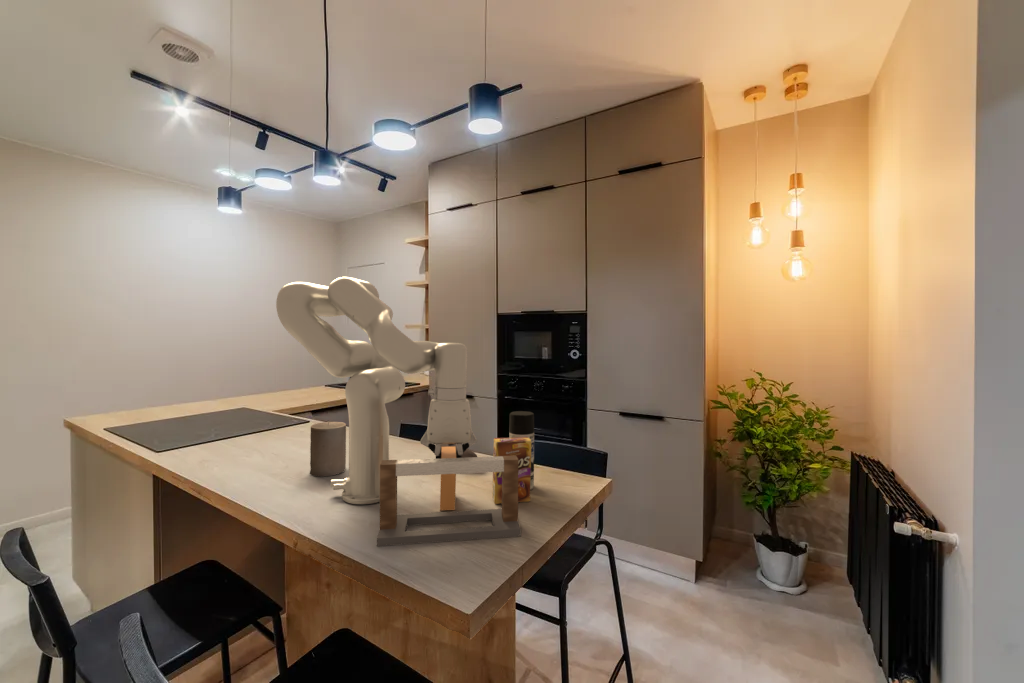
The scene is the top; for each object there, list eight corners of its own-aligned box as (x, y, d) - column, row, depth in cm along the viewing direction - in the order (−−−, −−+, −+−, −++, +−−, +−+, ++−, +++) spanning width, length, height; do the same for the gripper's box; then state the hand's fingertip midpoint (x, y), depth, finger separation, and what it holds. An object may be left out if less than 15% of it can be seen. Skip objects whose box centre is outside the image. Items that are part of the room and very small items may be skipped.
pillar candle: (302, 474, 117) (302, 422, 116) (328, 464, 126) (328, 416, 126) (328, 478, 113) (328, 425, 113) (353, 468, 122) (353, 418, 122)
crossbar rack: (376, 546, 78) (377, 470, 77) (384, 522, 87) (384, 455, 87) (520, 536, 82) (521, 464, 82) (512, 514, 92) (513, 450, 92)
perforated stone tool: (483, 469, 123) (483, 447, 122) (473, 474, 118) (473, 451, 118) (445, 461, 130) (445, 439, 130) (434, 465, 126) (434, 443, 126)
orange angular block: (454, 509, 93) (456, 458, 93) (439, 510, 93) (441, 458, 93) (454, 493, 103) (455, 446, 102) (440, 494, 102) (441, 446, 102)
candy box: (495, 505, 97) (495, 441, 97) (491, 498, 101) (492, 437, 101) (530, 502, 99) (531, 440, 99) (526, 495, 103) (527, 435, 103)
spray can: (531, 493, 105) (532, 415, 104) (506, 490, 106) (507, 414, 106) (535, 484, 111) (536, 411, 111) (511, 482, 112) (512, 410, 112)
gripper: (413, 396, 92) (411, 476, 93) (486, 396, 95) (483, 474, 95) (416, 391, 100) (414, 466, 100) (483, 392, 102) (481, 464, 103)
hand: (448, 469), depth 98 cm, fingers closed on orange angular block, 3 cm apart
